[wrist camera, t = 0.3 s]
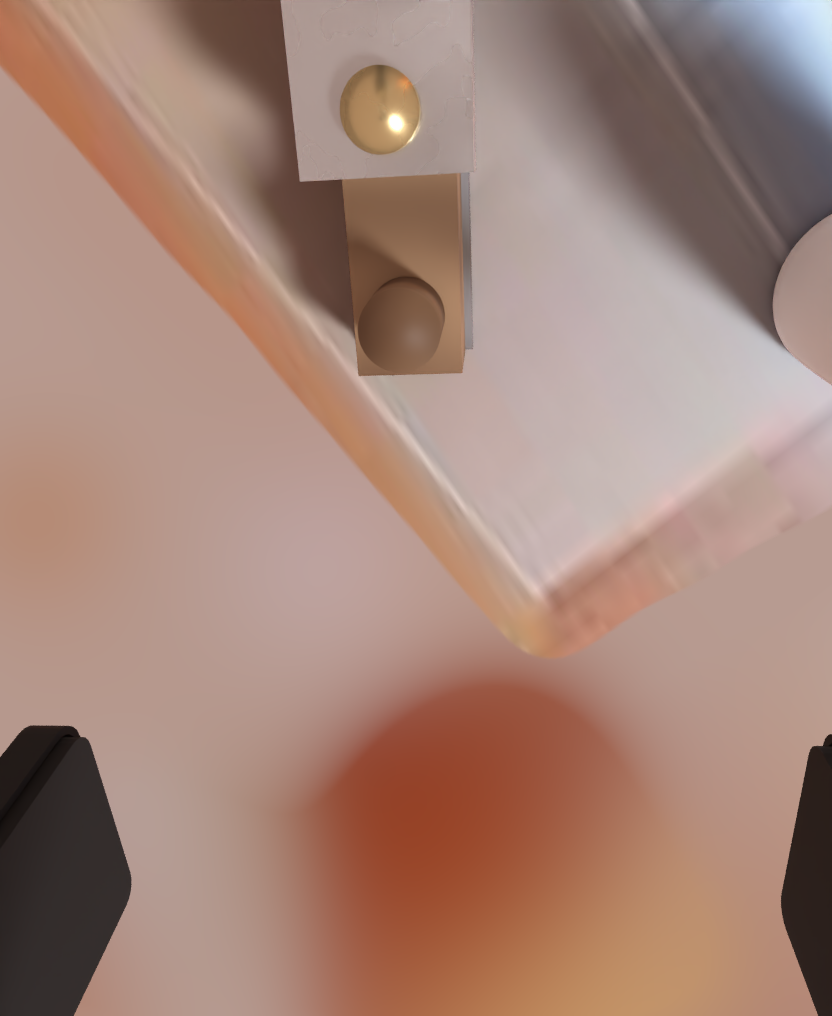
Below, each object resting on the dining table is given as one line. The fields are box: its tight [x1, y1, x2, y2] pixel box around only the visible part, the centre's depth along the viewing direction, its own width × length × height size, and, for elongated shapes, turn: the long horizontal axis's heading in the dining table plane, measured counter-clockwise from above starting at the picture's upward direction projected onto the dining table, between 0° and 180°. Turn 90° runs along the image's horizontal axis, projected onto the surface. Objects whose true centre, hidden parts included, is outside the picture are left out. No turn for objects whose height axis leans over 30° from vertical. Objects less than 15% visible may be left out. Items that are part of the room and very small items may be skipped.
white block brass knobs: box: [281, 0, 476, 182], centre depth 26 cm, size 8×6×5 cm
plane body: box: [342, 173, 473, 376], centre depth 29 cm, size 26×5×8 cm, turn 3°
